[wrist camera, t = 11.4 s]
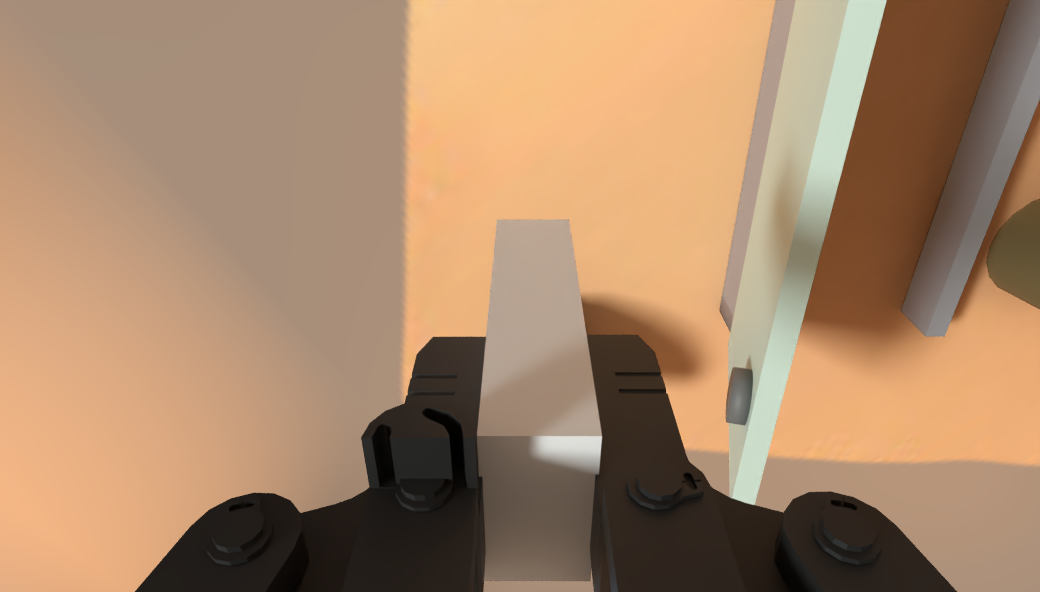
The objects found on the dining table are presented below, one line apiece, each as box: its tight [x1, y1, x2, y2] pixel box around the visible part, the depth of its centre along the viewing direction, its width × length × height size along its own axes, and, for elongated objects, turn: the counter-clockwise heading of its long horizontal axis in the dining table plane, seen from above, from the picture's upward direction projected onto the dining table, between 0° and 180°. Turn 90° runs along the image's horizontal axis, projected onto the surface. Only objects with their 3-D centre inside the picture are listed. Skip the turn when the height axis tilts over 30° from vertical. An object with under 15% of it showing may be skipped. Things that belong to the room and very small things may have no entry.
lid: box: [726, 0, 887, 505], centre depth 22 cm, size 24×11×1 cm
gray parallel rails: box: [720, 0, 1040, 336], centre depth 28 cm, size 24×11×2 cm, turn 0°
